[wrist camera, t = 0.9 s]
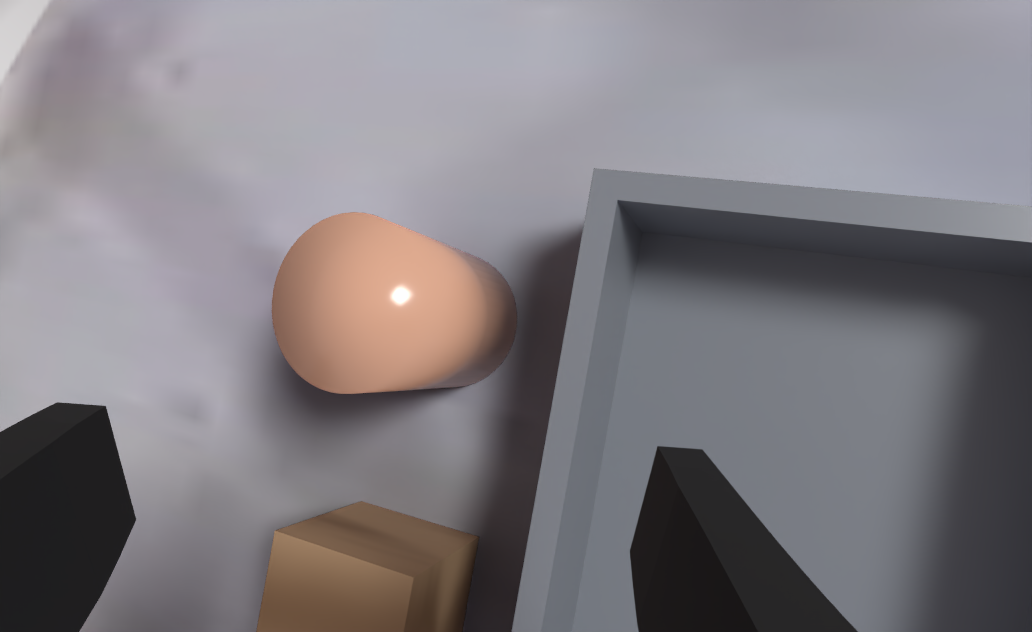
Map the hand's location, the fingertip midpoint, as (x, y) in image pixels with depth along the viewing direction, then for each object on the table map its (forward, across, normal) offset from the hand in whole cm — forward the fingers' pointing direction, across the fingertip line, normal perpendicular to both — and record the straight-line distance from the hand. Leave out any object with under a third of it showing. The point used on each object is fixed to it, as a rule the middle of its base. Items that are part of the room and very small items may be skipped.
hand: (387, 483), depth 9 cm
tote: (+8, -11, +8) cm, 16 cm away
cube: (+10, +1, +15) cm, 18 cm away
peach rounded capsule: (+15, 0, +6) cm, 16 cm away
